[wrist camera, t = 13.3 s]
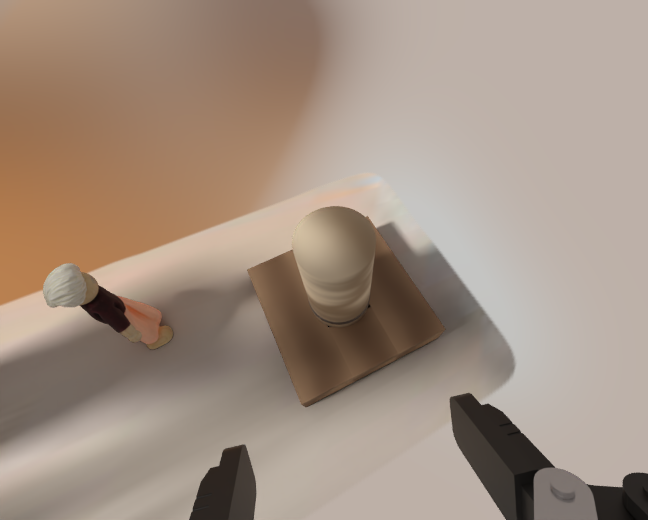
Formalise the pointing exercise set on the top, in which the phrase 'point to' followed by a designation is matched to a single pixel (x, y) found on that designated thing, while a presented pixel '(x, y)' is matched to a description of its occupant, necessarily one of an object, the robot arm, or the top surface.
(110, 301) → the grandmother figurine
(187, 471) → the top surface
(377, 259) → the walnut board
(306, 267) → the beech peg
